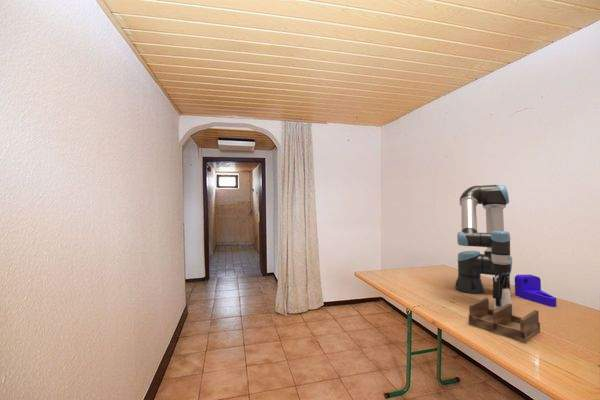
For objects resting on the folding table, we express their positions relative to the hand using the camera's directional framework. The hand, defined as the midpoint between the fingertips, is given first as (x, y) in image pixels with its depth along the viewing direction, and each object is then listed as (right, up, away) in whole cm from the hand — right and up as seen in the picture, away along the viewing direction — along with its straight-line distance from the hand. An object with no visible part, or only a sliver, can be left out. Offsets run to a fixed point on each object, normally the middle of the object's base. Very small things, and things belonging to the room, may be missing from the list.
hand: (502, 310), depth 130 cm
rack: (-12, 0, -16) cm, 20 cm away
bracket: (+30, -1, +14) cm, 33 cm away
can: (0, -1, 0) cm, 1 cm away
